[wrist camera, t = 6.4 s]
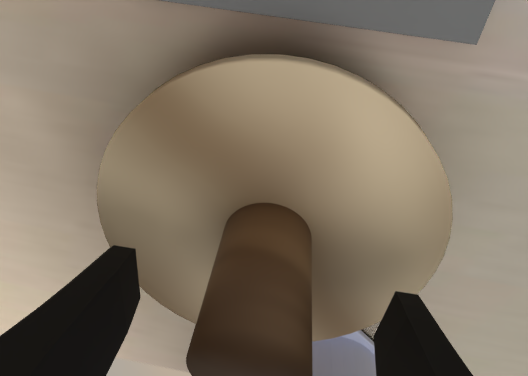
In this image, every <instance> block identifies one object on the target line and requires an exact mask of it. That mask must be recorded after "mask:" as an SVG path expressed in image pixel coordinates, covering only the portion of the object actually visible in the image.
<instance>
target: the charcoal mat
mask: <svg viewBox="0 0 528 376" xmlns="http://www.w3.org/2000/svg"><path fill="white" fill-rule="evenodd" d="M161 1H168V2H175V3H182V4H190V5H197V6H204V7H211V8H218V9H225V10H232V11H239V12H247V13H254V14H261V15H268V16H275V17H282V18H289V19H296V20H304V21H311V22H318V23H325V24H332V25H339V26H346V27H353V28H361V29H368V30H375V31H382V32H389V33H396V34H403V35H410V36H418V37H425V38H432V39H439V40H446V41H453V42H460V43H467V44H475V45H477V43H478V40H479V38H480V35H481V33H482V31H483V28H484V26H485V23H486V21H487V19H488V16H489V14H490V11H491V9H492V7H493V4H494V2H495V0H161Z"/></svg>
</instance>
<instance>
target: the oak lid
mask: <svg viewBox="0 0 528 376" xmlns="http://www.w3.org/2000/svg"><path fill="white" fill-rule="evenodd" d="M97 206H98V212H99V217H100V222H101V225H102V228H103V231H104V234H105V237H106V239H107V241H108V243H109V245H110V247H112V246H113V245H116V246H122V247H128V248H134V249H136V259H137V269H138V279H139V286H140V287H141V288H142V289H143V290H144V291H145V292H146V293H147V294H149V295H150V296H151V297H152V298H154V299H155V300H156V301H158V302H159V303H160V304H161V305H163V306H165V307H166V308H168V309H169V310H171V311H172V312H174V313H176V314H177V315H179V316H181V317H183V318H185V319H187V320H189V321H191V322H193V323H195V324H196V326H195V329H194V333H193V336H192V339H191V343H190V346H189V350H188V353H187V357H186V363H187V368H188V370H189V372H190V373H191V375H192V376H312V342H313V341H320V340H326V339H332V338H336V337H340V336H343V335H347V334H351V333H353V332H356V331H359V330H362V329H364V328H367V327H369V326H371V325H373V324H375V323H378V322H380V321H381V320H382V318H383V316H384V314H385V312H386V310H387V308H388V306H389V304H390V301H391V299H392V297H393V295H394V293H395V291H399V292H405V293H411V294H418V293H419V292H420V291H421V290H422V289H423V288H424V287H425V285H426V284H427V283H428V281H429V280H430V279H431V277H432V276H433V275H434V273H435V272H436V270H437V268H438V266H439V264H440V262H441V260H442V258H443V256H444V254H445V251H446V248H447V245H448V242H449V239H450V233H451V226H452V220H453V217H452V197H451V193H450V188H449V183H448V179H447V176H446V174H445V171H444V169H443V166H442V164H441V161H440V159H439V157H438V155H437V154H436V152H435V150H434V149H433V147H432V145H431V144H430V142H429V140H428V139H427V137H426V136H425V134H424V132H423V131H422V129H421V128H420V126H419V125H418V123H417V122H416V121H415V120H414V119H413V118H412V117H411V115H410V114H409V113H408V112H407V111H406V110H405V109H404V108H403V107H402V106H401V105H400V104H399V103H398V102H397V101H395V100H394V99H393V98H392V97H391V96H389V95H388V94H387V93H386V92H385V91H383V90H382V89H380V88H378V87H377V86H375V85H374V84H372V83H370V82H369V81H367V80H365V79H364V78H362V77H360V76H358V75H356V74H354V73H351V72H349V71H347V70H344V69H342V68H340V67H337V66H335V65H331V64H328V63H324V62H320V61H317V60H313V59H310V58H304V57H297V56H289V55H282V54H250V55H243V56H235V57H228V58H223V59H219V60H216V61H212V62H209V63H205V64H202V65H199V66H197V67H194V68H192V69H190V70H188V71H185V72H183V73H181V74H179V75H177V76H175V77H173V78H172V79H170V80H169V81H167V82H166V83H164V84H163V85H161V86H160V87H158V88H157V89H155V90H154V91H153V92H152V93H151V94H150V95H149V96H148V97H147V98H145V99H144V100H143V101H142V102H141V103H140V104H139V105H138V106H137V107H136V108H135V109H134V110H133V111H132V112H131V113H130V114H129V115H128V116H127V117H126V118H125V120H124V121H123V122H122V123H121V125H120V126H119V127H118V129H117V130H116V131H115V133H114V135H113V137H112V138H111V140H110V142H109V144H108V146H107V148H106V150H105V153H104V156H103V159H102V162H101V165H100V168H99V174H98V181H97Z"/></svg>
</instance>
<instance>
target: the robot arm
mask: <svg viewBox="0 0 528 376" xmlns="http://www.w3.org/2000/svg"><path fill="white" fill-rule="evenodd" d="M139 300H140V289H139V279H138V269H137V259H136V249H134V248H128V247H122V246H116V245H113V246H112V247H110V248H109V249H108V250H107V251H106V252H105V253H103V254H102V255H101V256H100V257H99V258H98V259H96V260H95V261H94V262H93V263H92V264H91V265H89V266H88V267H87V268H86V269H85V270H84V271H82V272H81V273H80V274H79V275H78V276H77V277H75V278H74V279H73V280H72V281H71V282H69V283H68V284H67V285H66V286H65V287H63V288H62V289H61V290H60V291H58V292H57V293H56V294H55V295H53V296H52V297H51V298H50V299H48V300H47V301H46V302H45V303H44V304H42V305H41V306H40V307H38V308H37V309H36V310H34V311H33V312H32V313H30V314H29V315H28V316H26V317H25V318H24V319H22V320H21V321H20V322H18V323H17V324H16V325H14V326H13V327H12V328H10V329H9V330H8V331H6V332H5V333H4V334H2V335H1V336H0V376H106V374H107V373H108V371H109V369H110V367H111V365H112V363H113V361H114V359H115V357H116V355H117V353H118V351H119V349H120V347H121V345H122V343H123V341H124V339H125V337H126V335H127V333H128V330H129V327H130V325H131V322H132V319H133V317H134V314H135V311H136V308H137V306H138V303H139ZM312 376H473V375H472V374H471V372H470V371H469V369H468V368H467V366H466V365H465V364H464V362H463V361H462V359H461V358H460V357H459V355H458V354H457V352H456V351H455V349H454V348H453V346H452V345H451V343H450V342H449V340H448V339H447V338H446V336H445V335H444V333H443V332H442V330H441V329H440V327H439V326H438V324H437V323H436V321H435V319H434V318H433V316H432V315H431V313H430V312H429V310H428V309H427V307H426V306H425V304H424V303H423V301H422V300H421V299H420V297H419V296H418V295H417V294H411V293H405V292H399V291H395V293H394V295H393V297H392V299H391V301H390V304H389V306H388V308H387V310H386V312H385V314H384V316H383V318H382V320H381V322H380V324H379V326H378V328H377V331H376V333H375V335H374V342H373V341H372V340H371V339H370V338H369V337H368V336H367V335H366V334H364V333H363V332H362V331H361V330H359V331H356V332H353V333H351V334H347V335H343V336H340V337H336V338H332V339H326V340H320V341H313V342H312Z"/></svg>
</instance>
